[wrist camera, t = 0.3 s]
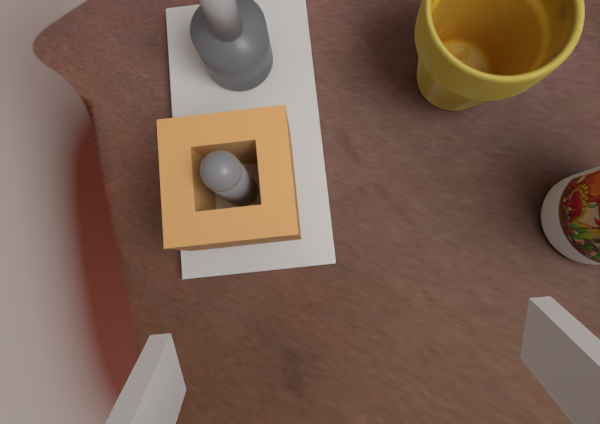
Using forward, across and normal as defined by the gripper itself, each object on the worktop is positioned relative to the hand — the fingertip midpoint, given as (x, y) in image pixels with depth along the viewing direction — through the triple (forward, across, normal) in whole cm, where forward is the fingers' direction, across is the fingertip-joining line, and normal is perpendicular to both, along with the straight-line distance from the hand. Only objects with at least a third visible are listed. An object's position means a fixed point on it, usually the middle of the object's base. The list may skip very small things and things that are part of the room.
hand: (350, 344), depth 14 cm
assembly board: (+24, +6, -4) cm, 25 cm away
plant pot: (+25, -14, -7) cm, 29 cm away
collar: (+15, +6, -2) cm, 16 cm away
